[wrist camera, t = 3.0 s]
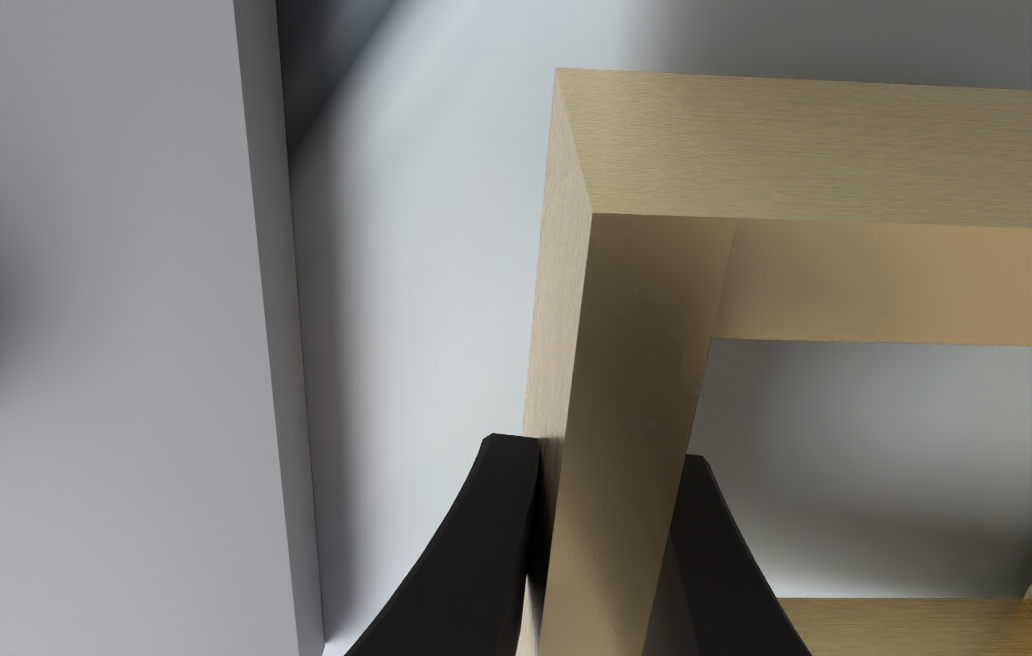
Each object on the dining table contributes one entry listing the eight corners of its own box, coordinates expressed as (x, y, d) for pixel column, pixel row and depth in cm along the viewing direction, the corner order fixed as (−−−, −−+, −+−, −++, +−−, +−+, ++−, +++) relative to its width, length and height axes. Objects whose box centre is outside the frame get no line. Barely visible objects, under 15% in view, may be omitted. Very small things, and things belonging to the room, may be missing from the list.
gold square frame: (1062, 643, 17) (1187, 840, 14) (503, 644, 16) (513, 853, 13) (1385, 107, 11) (1701, 251, 8) (555, 68, 11) (592, 212, 8)
